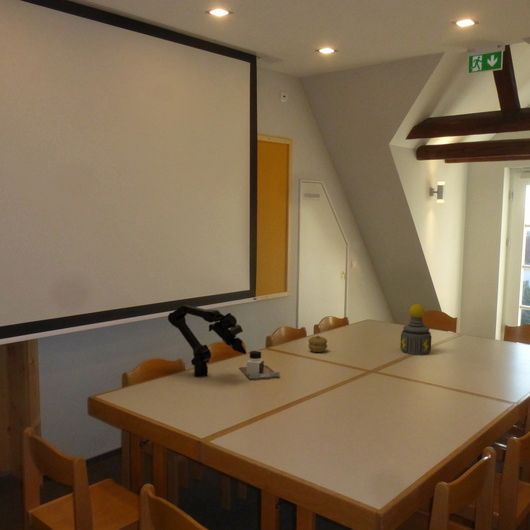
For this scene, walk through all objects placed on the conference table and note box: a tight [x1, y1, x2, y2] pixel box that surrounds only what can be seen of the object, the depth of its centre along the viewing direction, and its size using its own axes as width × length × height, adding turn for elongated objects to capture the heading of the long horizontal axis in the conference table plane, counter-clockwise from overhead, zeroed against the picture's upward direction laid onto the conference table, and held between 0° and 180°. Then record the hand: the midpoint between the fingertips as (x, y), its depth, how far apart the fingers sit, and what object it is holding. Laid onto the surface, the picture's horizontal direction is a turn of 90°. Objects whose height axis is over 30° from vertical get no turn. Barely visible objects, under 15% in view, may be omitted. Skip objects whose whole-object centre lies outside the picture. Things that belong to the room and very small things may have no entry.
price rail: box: [249, 371, 281, 379], centre depth 295 cm, size 16×2×2 cm, turn 108°
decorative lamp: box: [400, 303, 432, 356], centre depth 355 cm, size 19×19×30 cm
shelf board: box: [238, 364, 281, 381], centre depth 305 cm, size 16×22×1 cm
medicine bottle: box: [246, 350, 265, 375], centre depth 301 cm, size 7×7×12 cm
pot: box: [307, 335, 328, 353], centre depth 354 cm, size 12×12×10 cm
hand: (242, 351), depth 299 cm, fingers open, 9 cm apart
